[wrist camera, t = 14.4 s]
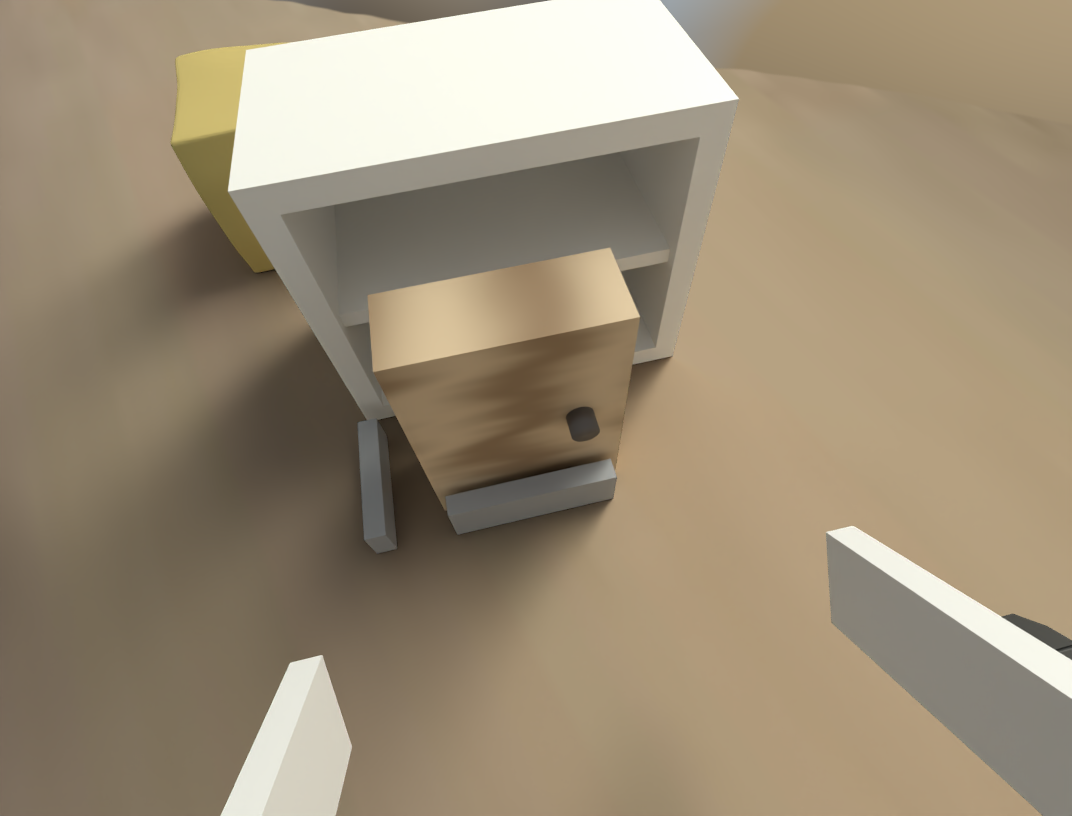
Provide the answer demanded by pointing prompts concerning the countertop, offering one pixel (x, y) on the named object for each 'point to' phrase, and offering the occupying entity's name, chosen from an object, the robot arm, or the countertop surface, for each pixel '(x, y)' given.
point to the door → (508, 368)
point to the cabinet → (480, 185)
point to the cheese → (214, 137)
